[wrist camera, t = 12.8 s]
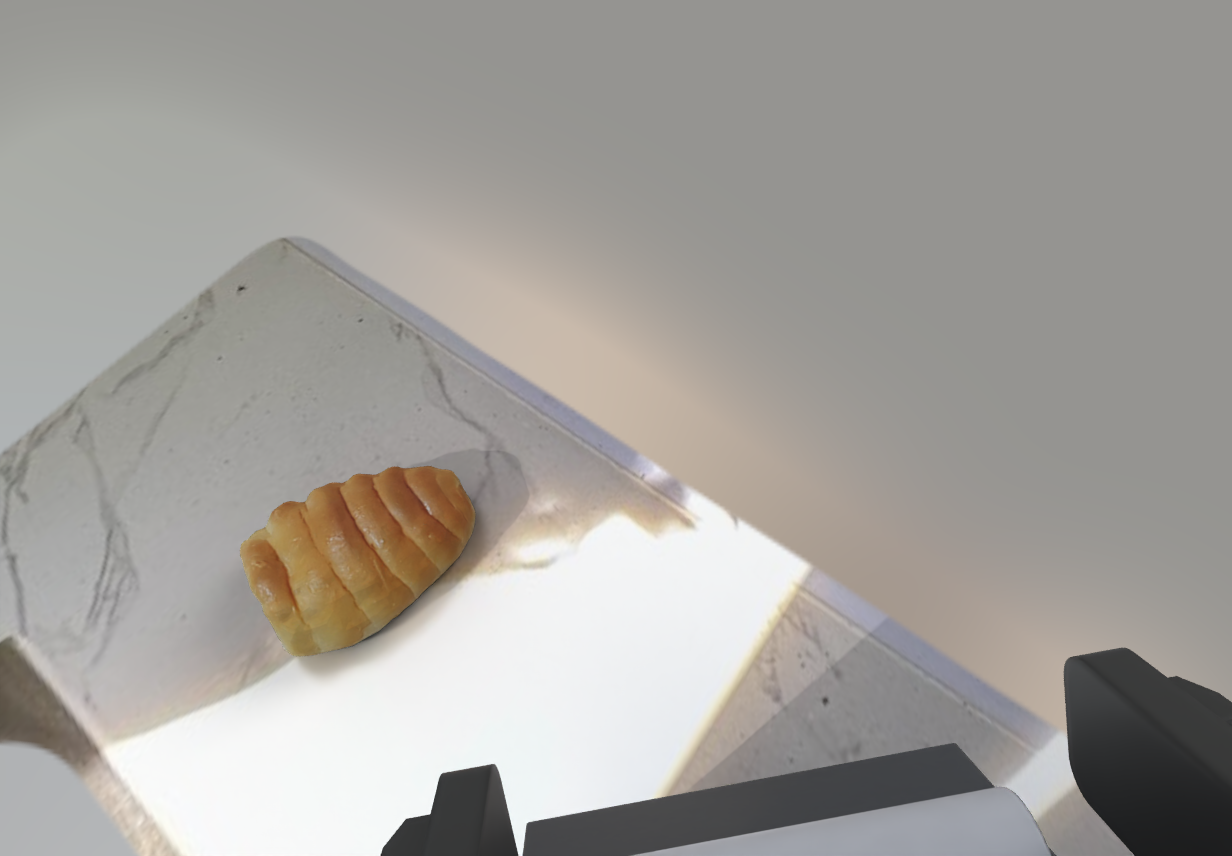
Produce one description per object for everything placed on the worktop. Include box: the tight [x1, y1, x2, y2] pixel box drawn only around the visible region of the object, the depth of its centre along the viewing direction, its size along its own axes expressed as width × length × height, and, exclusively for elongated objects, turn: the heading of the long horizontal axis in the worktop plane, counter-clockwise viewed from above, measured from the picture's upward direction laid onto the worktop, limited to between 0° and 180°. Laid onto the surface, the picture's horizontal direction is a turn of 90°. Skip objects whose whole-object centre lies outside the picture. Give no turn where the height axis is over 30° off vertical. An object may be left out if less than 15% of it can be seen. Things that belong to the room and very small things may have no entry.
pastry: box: [240, 466, 476, 656], centre depth 37 cm, size 9×7×4 cm
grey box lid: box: [523, 743, 1056, 856], centre depth 15 cm, size 12×11×6 cm
